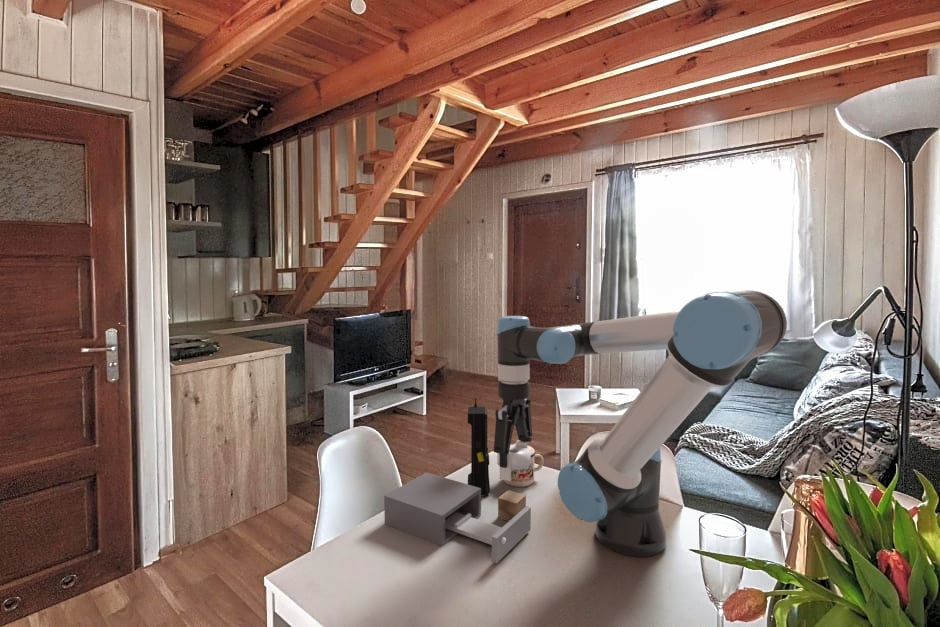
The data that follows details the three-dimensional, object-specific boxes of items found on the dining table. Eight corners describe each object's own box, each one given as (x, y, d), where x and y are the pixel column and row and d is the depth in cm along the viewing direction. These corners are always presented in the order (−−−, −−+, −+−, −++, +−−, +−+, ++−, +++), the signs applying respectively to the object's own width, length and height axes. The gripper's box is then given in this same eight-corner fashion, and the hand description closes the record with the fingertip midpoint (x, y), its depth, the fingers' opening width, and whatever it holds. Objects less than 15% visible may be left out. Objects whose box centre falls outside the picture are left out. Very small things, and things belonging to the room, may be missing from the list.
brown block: (525, 514, 124) (526, 495, 123) (516, 523, 120) (516, 503, 119) (507, 509, 127) (508, 490, 126) (498, 517, 122) (498, 497, 122)
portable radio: (490, 498, 133) (490, 405, 130) (467, 497, 133) (467, 405, 130) (489, 484, 140) (490, 397, 138) (468, 484, 141) (468, 397, 138)
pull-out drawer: (532, 530, 115) (532, 508, 115) (498, 564, 102) (499, 539, 102) (466, 509, 125) (466, 488, 125) (428, 537, 112) (428, 514, 112)
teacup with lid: (508, 489, 138) (509, 448, 137) (498, 475, 146) (499, 437, 145) (549, 484, 141) (550, 444, 140) (536, 471, 150) (537, 433, 148)
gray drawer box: (480, 515, 123) (481, 488, 123) (442, 546, 110) (442, 515, 109) (426, 497, 133) (426, 472, 132) (384, 524, 119) (384, 495, 118)
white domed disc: (536, 460, 123) (536, 448, 122) (521, 472, 116) (521, 459, 116) (507, 454, 127) (507, 443, 127) (491, 465, 120) (491, 452, 120)
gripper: (519, 371, 130) (519, 456, 132) (477, 387, 113) (478, 485, 115) (546, 374, 126) (546, 462, 128) (506, 391, 109) (506, 492, 111)
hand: (514, 473), depth 122 cm, fingers closed on white domed disc, 8 cm apart
